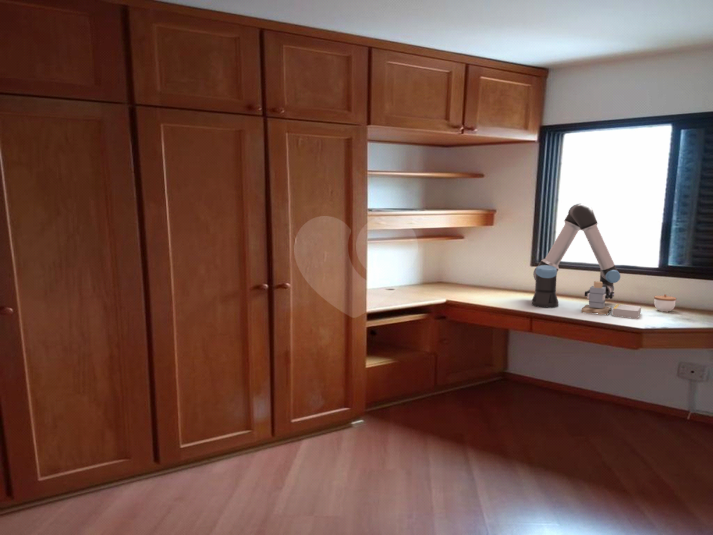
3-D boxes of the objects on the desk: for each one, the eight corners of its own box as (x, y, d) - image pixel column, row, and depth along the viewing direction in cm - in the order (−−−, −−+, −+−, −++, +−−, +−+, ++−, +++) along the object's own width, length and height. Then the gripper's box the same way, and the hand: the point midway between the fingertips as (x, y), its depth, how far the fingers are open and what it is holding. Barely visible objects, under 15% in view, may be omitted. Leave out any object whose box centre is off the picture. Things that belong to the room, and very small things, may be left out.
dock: (612, 315, 277) (612, 308, 276) (616, 311, 288) (616, 304, 287) (637, 318, 270) (637, 310, 269) (640, 313, 281) (641, 306, 281)
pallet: (581, 312, 285) (581, 308, 285) (586, 308, 296) (586, 304, 295) (607, 315, 278) (607, 311, 277) (611, 311, 288) (611, 307, 288)
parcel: (594, 287, 284) (594, 282, 283) (593, 286, 287) (594, 281, 287) (602, 288, 282) (602, 282, 282) (601, 286, 286) (601, 281, 286)
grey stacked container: (588, 306, 285) (589, 287, 284) (591, 304, 291) (592, 285, 290) (602, 308, 281) (603, 288, 280) (604, 306, 287) (606, 287, 286)
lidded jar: (663, 313, 283) (664, 296, 282) (648, 309, 293) (649, 293, 292) (679, 312, 285) (681, 295, 284) (664, 308, 295) (666, 292, 294)
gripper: (621, 299, 295) (615, 306, 276) (584, 295, 306) (576, 301, 288) (622, 286, 294) (616, 292, 275) (585, 283, 305) (576, 288, 287)
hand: (595, 297), depth 281 cm, fingers closed on grey stacked container, 7 cm apart
